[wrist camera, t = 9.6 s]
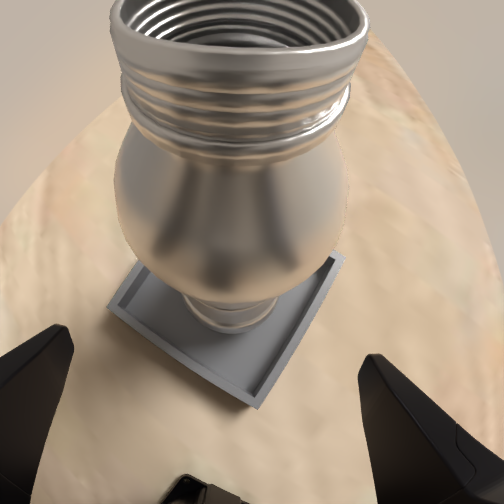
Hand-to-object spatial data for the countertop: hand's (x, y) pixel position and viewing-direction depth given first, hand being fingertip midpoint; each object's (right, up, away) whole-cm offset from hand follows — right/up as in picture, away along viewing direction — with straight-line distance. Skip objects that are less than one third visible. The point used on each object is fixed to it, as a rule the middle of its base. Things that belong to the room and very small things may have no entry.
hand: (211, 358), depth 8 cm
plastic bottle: (0, 0, +14) cm, 14 cm away
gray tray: (-1, 0, +14) cm, 14 cm away
